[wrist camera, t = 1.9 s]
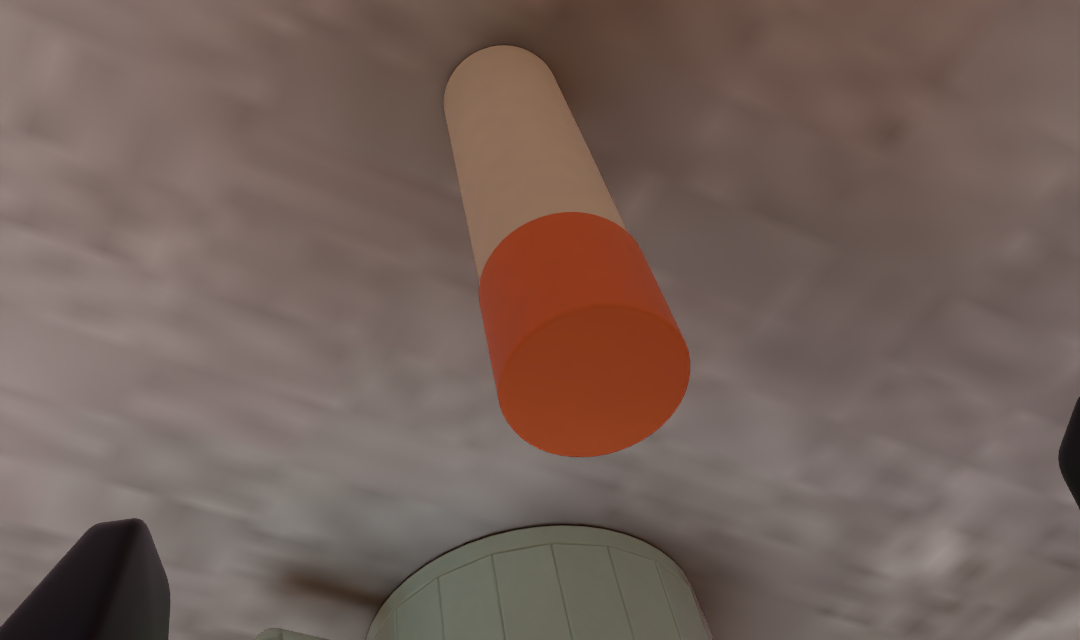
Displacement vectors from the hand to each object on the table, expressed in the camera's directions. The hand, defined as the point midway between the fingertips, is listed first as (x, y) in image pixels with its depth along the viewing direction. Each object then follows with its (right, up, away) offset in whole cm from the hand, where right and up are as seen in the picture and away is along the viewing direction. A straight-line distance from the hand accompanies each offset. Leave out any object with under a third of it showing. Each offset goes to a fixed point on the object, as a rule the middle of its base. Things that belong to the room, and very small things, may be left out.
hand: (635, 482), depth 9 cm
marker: (-2, +5, +8) cm, 9 cm away
